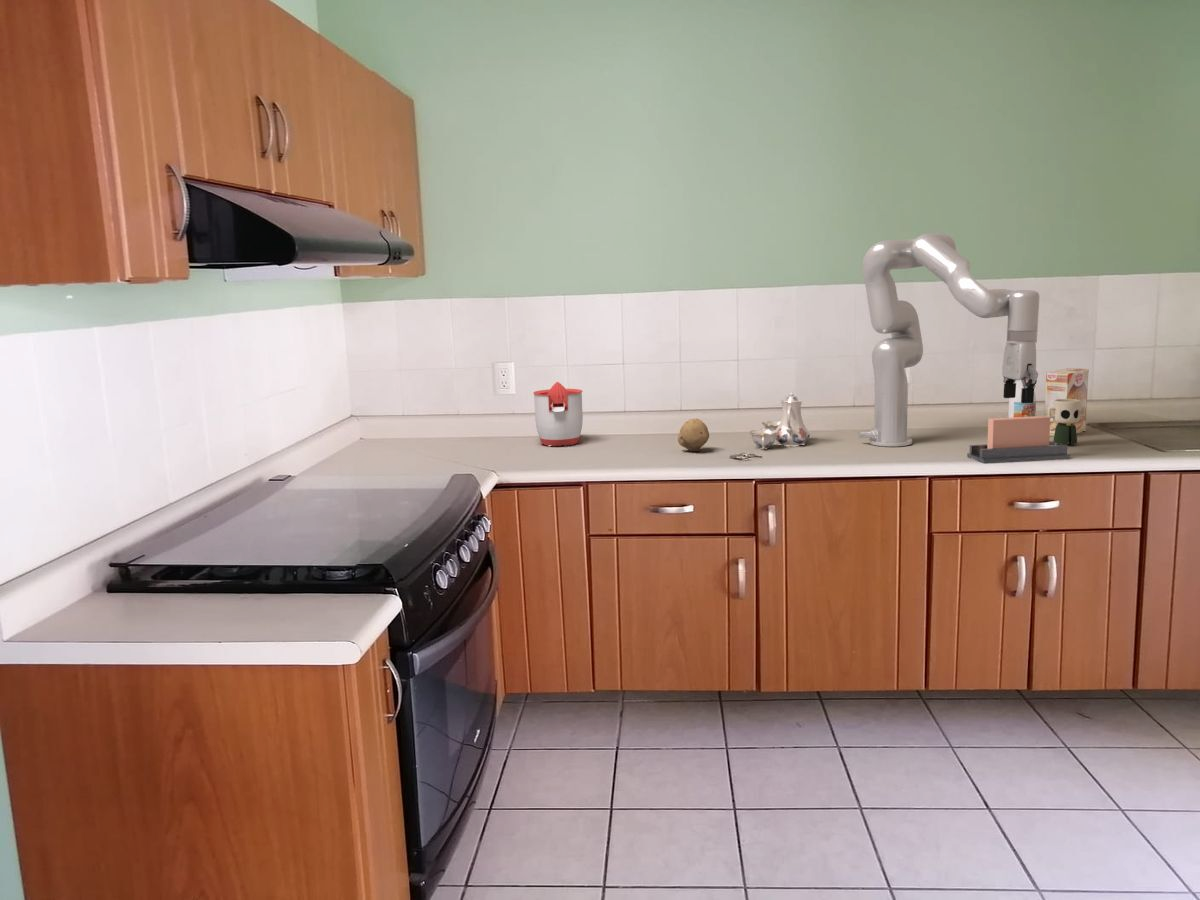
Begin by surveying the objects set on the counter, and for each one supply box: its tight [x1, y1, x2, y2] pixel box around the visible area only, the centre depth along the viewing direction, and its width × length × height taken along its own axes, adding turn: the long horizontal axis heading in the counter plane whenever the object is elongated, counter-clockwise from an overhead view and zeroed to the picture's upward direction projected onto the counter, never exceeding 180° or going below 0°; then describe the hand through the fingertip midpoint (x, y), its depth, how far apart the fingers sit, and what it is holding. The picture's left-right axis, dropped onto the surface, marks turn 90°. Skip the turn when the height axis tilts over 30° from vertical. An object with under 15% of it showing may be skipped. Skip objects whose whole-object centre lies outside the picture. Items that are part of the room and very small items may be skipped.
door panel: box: [987, 415, 1051, 449], centre depth 279 cm, size 16×3×10 cm, turn 95°
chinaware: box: [749, 391, 811, 450], centre depth 314 cm, size 28×17×17 cm, turn 164°
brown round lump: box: [677, 418, 710, 453], centre depth 306 cm, size 9×9×10 cm
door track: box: [966, 440, 1071, 464], centre depth 280 cm, size 24×10×4 cm, turn 95°
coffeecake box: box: [1043, 367, 1090, 437], centre depth 314 cm, size 15×7×20 cm, turn 132°
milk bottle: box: [1007, 379, 1037, 418], centre depth 313 cm, size 8×8×20 cm
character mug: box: [1047, 399, 1087, 445], centre depth 296 cm, size 11×7×13 cm, turn 91°
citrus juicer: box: [532, 381, 584, 447], centre depth 326 cm, size 16×17×20 cm
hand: (1018, 400), depth 278 cm, fingers open, 9 cm apart
